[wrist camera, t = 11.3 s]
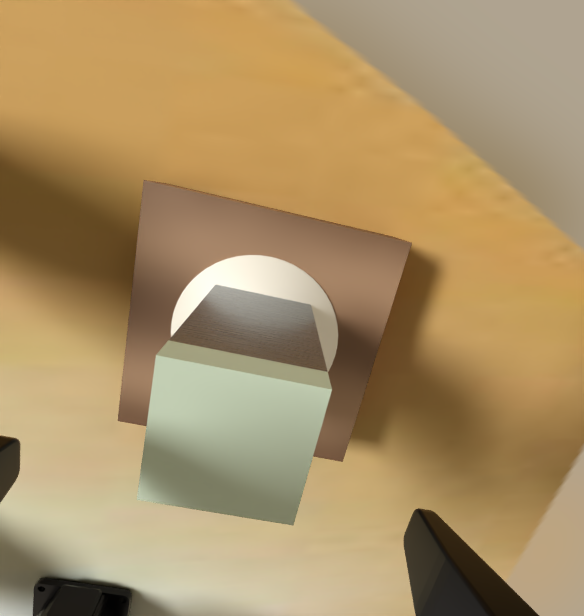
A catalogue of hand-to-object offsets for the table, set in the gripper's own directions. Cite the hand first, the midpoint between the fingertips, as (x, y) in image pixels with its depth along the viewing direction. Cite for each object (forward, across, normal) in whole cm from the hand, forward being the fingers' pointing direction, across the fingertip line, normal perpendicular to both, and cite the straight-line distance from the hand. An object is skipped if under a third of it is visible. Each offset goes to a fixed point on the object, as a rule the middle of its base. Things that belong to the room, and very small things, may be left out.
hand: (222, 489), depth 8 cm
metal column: (+10, 0, 0) cm, 10 cm away
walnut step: (+13, 0, 0) cm, 13 cm away
